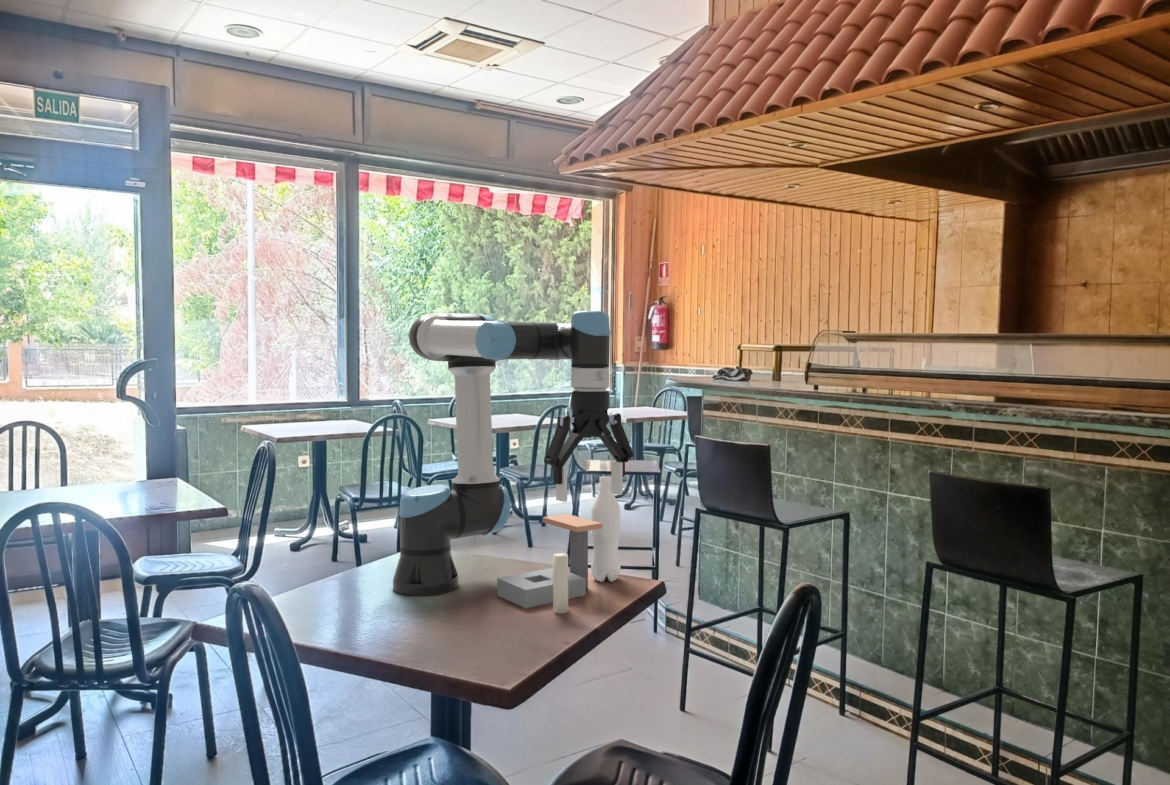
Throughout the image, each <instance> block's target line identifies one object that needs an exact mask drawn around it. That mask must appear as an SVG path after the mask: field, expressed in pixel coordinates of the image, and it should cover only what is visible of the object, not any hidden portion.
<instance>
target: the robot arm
mask: <svg viewBox="0 0 1170 785" xmlns="http://www.w3.org/2000/svg"><path fill="white" fill-rule="evenodd" d="M412 323H413V324H412V325H411V327H410V329H409V333H408V340H409V344H410V346H411V349H412V350H413V352H414V353H416V354H417V355H418V356H419V357H421V358H423V359H426V360H428V361H433V362H447V371H449V373H451V374H452V375H453V376H454V393H455V394H454V396H455V397H454V399H455V421H456V422H455V423H456V424H455V426H456V429H455V430H456V447H457V448H456V450H457V451H456V454H457V455H456V456H457V475H456V476H455V477H454V478H453V479H452V480H451V481H452V482H451V486H452V487H451V488H452V489H451V488H450V486H449V485H447V484H433V485H431V484H429V485H428V484H427V485H422V486H418V487H415V488H411V489H409V490H407V491H405V492H404V493H403V494H402V495H401V497H400V501H399V511H398V516H399V537H400V538H399V541H400V542H399V546H400V547H399V549H400V552H399V553H400V554H399V559H398V562H397V566H396V569H395V572H394V575H393V578H392V579H393V580H392V590H393V591H394V592H396V593H398V594H401V595H406V596H434V595H441V594H445V593H448V592H451V591H454V590H455V589H457V588H458V587H459V574H458V571H457V568H456V564H455V562H454V559H453V556H452V552H451V550H452V549H451V545H452V544H451V543H452V542H451V540H454V539H455V540H457V539H461V538H468V537H474V536H475V537H476V536H487V535H489V534H493V533H497V532H499V531H501V530H503V528H504V527H505V525H507V523H508V520H509V517H510V514H511V506H512V505H511V504H512V503H511V498H510V495H509V491H508V489H507V488H506V487H505V486H504V485H502V484H501V478H500V477H499V476H498V475H496V473H494V454H493V453H494V451H493V450H494V449H493V428H492V427H493V424H492V420H493V419H492V402H491V401H492V400H491V399H492V397H491V396H492V395H491V394H492V393H491V374H492V373H493V372H494V371H495V369H496V366H497V364H496V362H498V361H503V360H507V361H508V360H550V361H553V360H555V361H559V360H571V364H570V367H571V371H570V375H571V376H570V387H571V388H572V389H573V391H571V393H570V395H571V396H570V398H571V399H570V407H571V411H572V414H571V416H570V415H562V414H561V415H559V416H558V418H557V426H556V429H555V431H554V434H553V436H552V439H551V441H550V444H549V446H548V450H547V452H546V453H545V454H546V455H545V456H544V459H543V463H544V464H546V465H549V466H551V467H552V482H553V484H555V499H556V501H558V502H563V503H566V502H568V467H567V466H566V467H565V465H566V463H567V462H568V460H569V459H570V457H571V455H572V454H573V453H574V451H575V449H576V448H577V446H578V445H579V443H580V442H581V441H583V440H584V438H586V439H587V438H589V439H590V438H592V437H593V438H599V439H600V440H601V442H602V443H603V444H604V446H605V447H606V449H607V450H608V452H609V453H610V455H611V456H612V457H613V459H614V460H611V462H610V463H611V470H610V472H611V473H610V474H611V476H610V477H611V493H613V494H614V495H623V486H624V485H623V480H624V479H623V478H625V474H626V463H628V462H629V460H630V459H632V458H633V457H634V452H633V449H632V447H631V445H630V442H629V439H628V437H627V435H626V432H625V429H624V427H623V423H622V415H621V413H619V412H618V413H617V412H609V413H608V411H609V409H610V392H609V390H607V389H609V387H610V355H611V354H610V351H611V349H610V345H611V344H610V342H611V340H610V339H611V330H610V329H611V328H610V316H609V314H608V313H607V312H606V311H601V310H600V311H599V310H578V311H574V312H573V313H572V314H571V320H570V322H541V321H540V322H539V321H537V322H536V321H509V320H497V319H496V318H495V317H493V316H491V315H489V314H481V313H476V312H475V313H467V312H466V313H462V312H461V313H457V312H431V313H427V314H423V315H421V316H420V317H418V318H417V319H416V320H415V321H414V322H412ZM608 424H609V427H610V429H609V428H608V426H607V425H608ZM572 426H573V427H572ZM571 427H572V429H571V430H570V428H571ZM610 430H611V431H610ZM612 434H613V436H612ZM567 436H568V437H567ZM613 437H614V438H613Z"/></svg>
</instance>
